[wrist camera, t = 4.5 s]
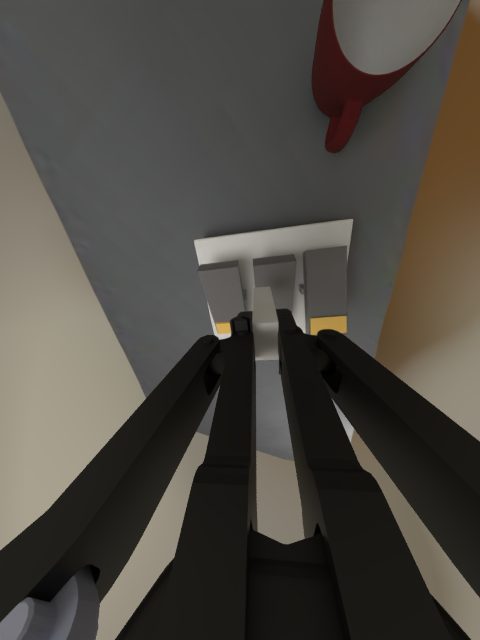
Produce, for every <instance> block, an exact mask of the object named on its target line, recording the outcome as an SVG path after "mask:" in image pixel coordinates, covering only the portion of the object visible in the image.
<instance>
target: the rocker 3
mask: <svg viewBox="0 0 480 640" xmlns="http://www.w3.org/2000/svg"><path fill="white" fill-rule="evenodd" d="M302 254H303V279H304V305H305V330H306V334H309V335H316V336H317V332H318V331H320V330H323V329H333V330H336V331H338V332H340V333H342V334H347V246H339V247H331V248H322V249H314V250H306V251H305V252H303V253H302Z"/></svg>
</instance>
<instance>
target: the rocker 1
mask: <svg viewBox="0 0 480 640" xmlns="http://www.w3.org/2000/svg"><path fill="white" fill-rule="evenodd" d="M197 272H198V275H199V278H200V281H201V284H202V287H203V290H204V293H205V296H206V299H207V302H208V305H209V308H210V311H211V314H212V317H213V320H214V323H215V326H216V329H217V332H218V333H219V334H226V333H231V328H230V320H231V319H232V318H234V317H237V315H238V314H239V313H240V312H244V311H246V307H245V300H244V294H243V287H242V281H241V274H240V267H239V261H238V260H235V261H226V262H218V263H209V264H201V265H200V267H199V269H198V271H197Z"/></svg>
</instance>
